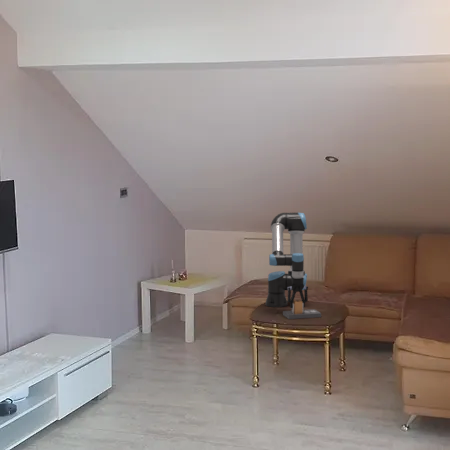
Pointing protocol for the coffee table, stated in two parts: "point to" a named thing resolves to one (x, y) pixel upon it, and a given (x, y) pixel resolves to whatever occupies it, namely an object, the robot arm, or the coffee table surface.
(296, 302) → the charger
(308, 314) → the power strip
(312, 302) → the coffee table surface
